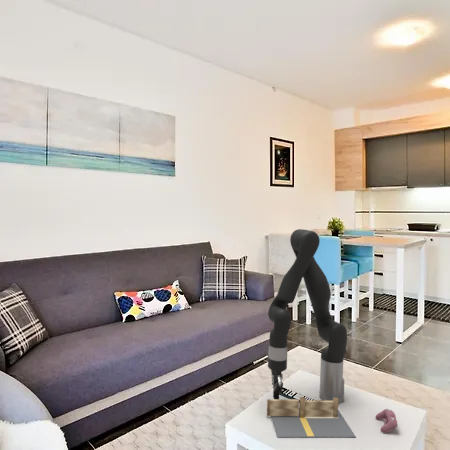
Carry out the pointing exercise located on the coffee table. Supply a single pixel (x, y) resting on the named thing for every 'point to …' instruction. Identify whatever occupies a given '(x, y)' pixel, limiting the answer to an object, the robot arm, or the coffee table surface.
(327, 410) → the wooden toy fence
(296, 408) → the fence panel
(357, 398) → the coffee table surface
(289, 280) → the robot arm
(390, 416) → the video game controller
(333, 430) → the card
